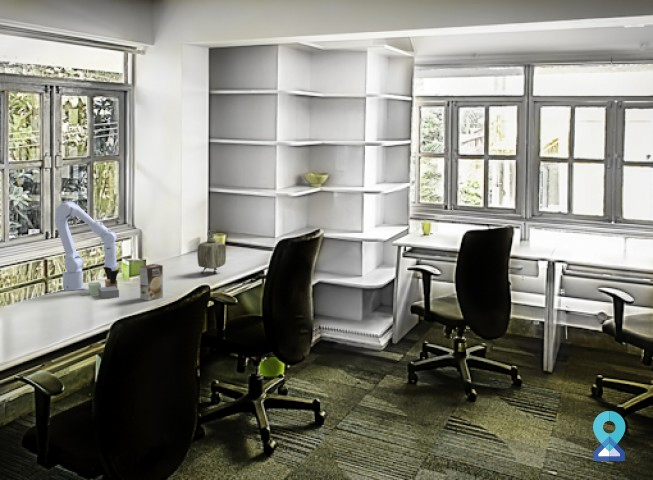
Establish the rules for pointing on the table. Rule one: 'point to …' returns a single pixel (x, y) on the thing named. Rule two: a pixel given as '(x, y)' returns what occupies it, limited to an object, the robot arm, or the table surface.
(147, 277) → the coffee box
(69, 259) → the robot arm
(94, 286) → the sage cube
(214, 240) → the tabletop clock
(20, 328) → the table surface
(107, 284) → the walnut cube
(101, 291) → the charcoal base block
